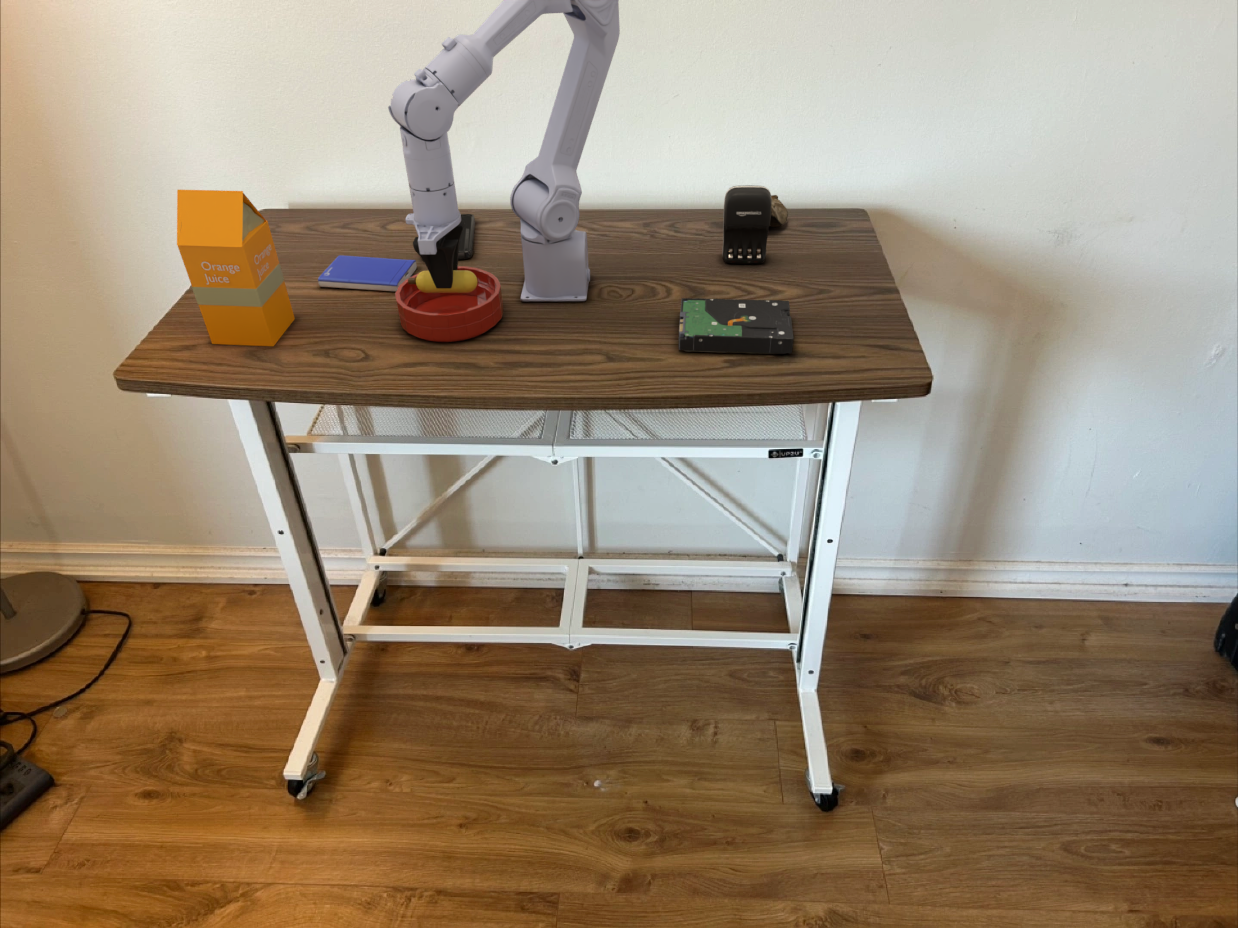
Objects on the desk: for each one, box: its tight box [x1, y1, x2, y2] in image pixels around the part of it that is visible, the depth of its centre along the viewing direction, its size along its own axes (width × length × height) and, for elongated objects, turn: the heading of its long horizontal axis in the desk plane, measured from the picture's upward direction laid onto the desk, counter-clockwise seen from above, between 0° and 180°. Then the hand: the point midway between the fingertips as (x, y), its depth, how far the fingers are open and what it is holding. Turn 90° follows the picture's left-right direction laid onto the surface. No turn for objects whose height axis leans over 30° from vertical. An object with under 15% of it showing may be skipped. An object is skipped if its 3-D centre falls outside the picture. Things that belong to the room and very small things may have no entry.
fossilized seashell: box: [769, 194, 789, 228], centre depth 145 cm, size 8×7×10 cm
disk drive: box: [678, 297, 795, 355], centre depth 119 cm, size 10×3×15 cm
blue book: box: [317, 254, 418, 292], centre depth 134 cm, size 2×8×12 cm
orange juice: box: [176, 189, 296, 347], centre depth 117 cm, size 8×9×20 cm
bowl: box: [394, 265, 504, 343], centre depth 123 cm, size 14×14×4 cm
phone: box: [458, 213, 476, 260], centre depth 144 cm, size 8×1×15 cm
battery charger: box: [721, 184, 772, 265], centre depth 133 cm, size 7×4×11 cm, turn 87°
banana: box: [408, 269, 477, 293], centre depth 121 cm, size 9×3×3 cm, turn 88°
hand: (446, 280), depth 121 cm, fingers closed on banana, 3 cm apart
